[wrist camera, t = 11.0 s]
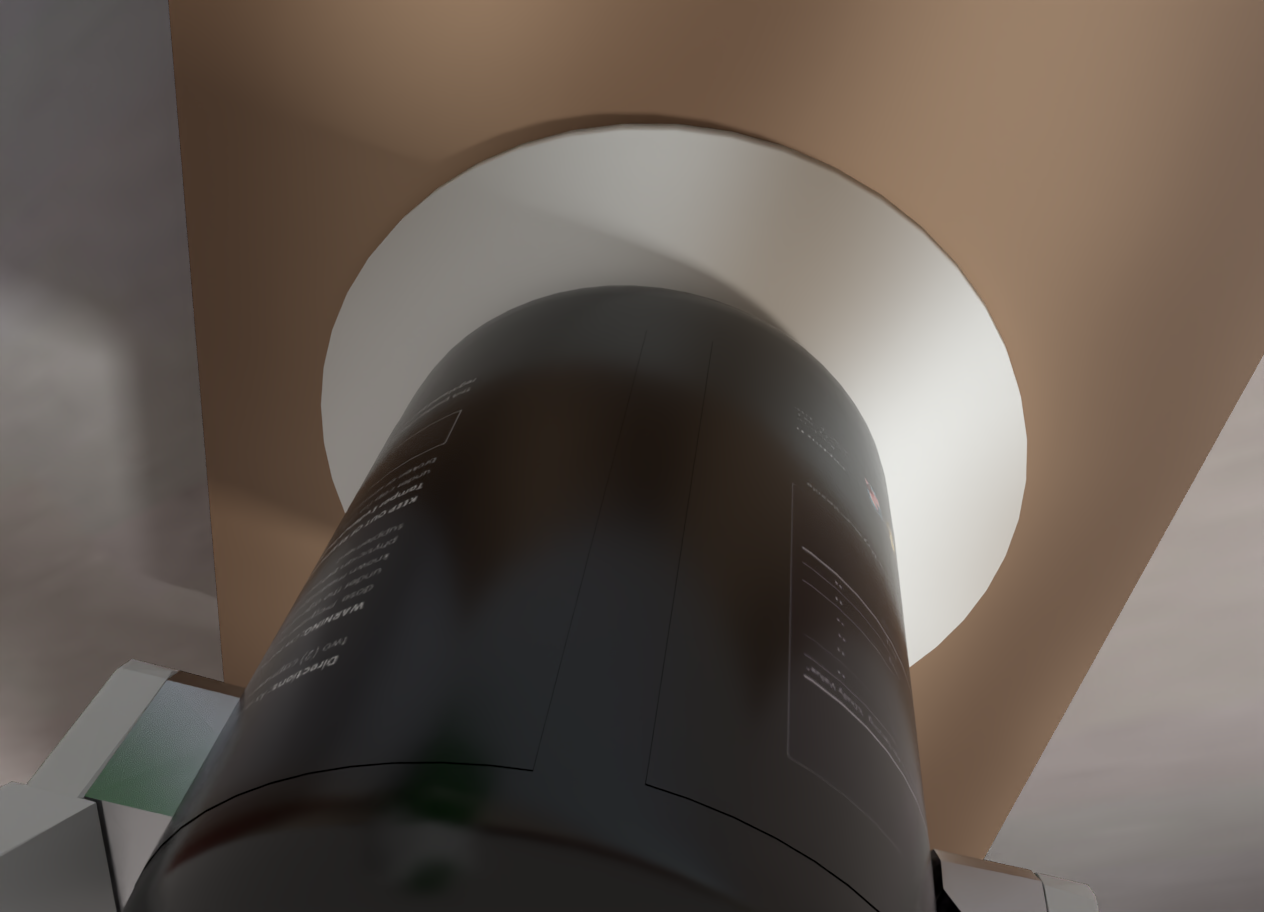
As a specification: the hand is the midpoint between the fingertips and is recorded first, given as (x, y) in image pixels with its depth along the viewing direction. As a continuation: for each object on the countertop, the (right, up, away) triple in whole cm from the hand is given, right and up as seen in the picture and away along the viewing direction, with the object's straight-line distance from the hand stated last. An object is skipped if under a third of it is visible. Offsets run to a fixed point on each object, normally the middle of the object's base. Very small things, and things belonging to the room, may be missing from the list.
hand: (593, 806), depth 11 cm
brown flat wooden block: (+1, +5, +7) cm, 9 cm away
